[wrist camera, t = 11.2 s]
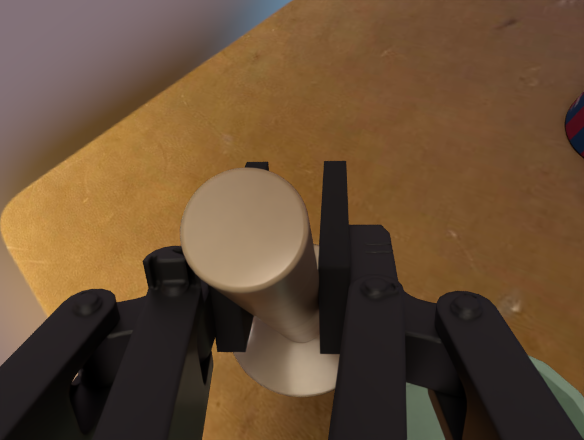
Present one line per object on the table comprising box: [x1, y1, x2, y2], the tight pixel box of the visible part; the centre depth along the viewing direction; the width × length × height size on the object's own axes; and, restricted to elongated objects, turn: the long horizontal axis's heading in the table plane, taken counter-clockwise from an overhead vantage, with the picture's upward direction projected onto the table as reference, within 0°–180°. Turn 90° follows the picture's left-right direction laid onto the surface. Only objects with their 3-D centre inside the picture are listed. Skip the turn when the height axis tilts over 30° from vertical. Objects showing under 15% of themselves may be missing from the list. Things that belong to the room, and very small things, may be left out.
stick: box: [180, 168, 340, 397], centre depth 15 cm, size 6×6×15 cm
